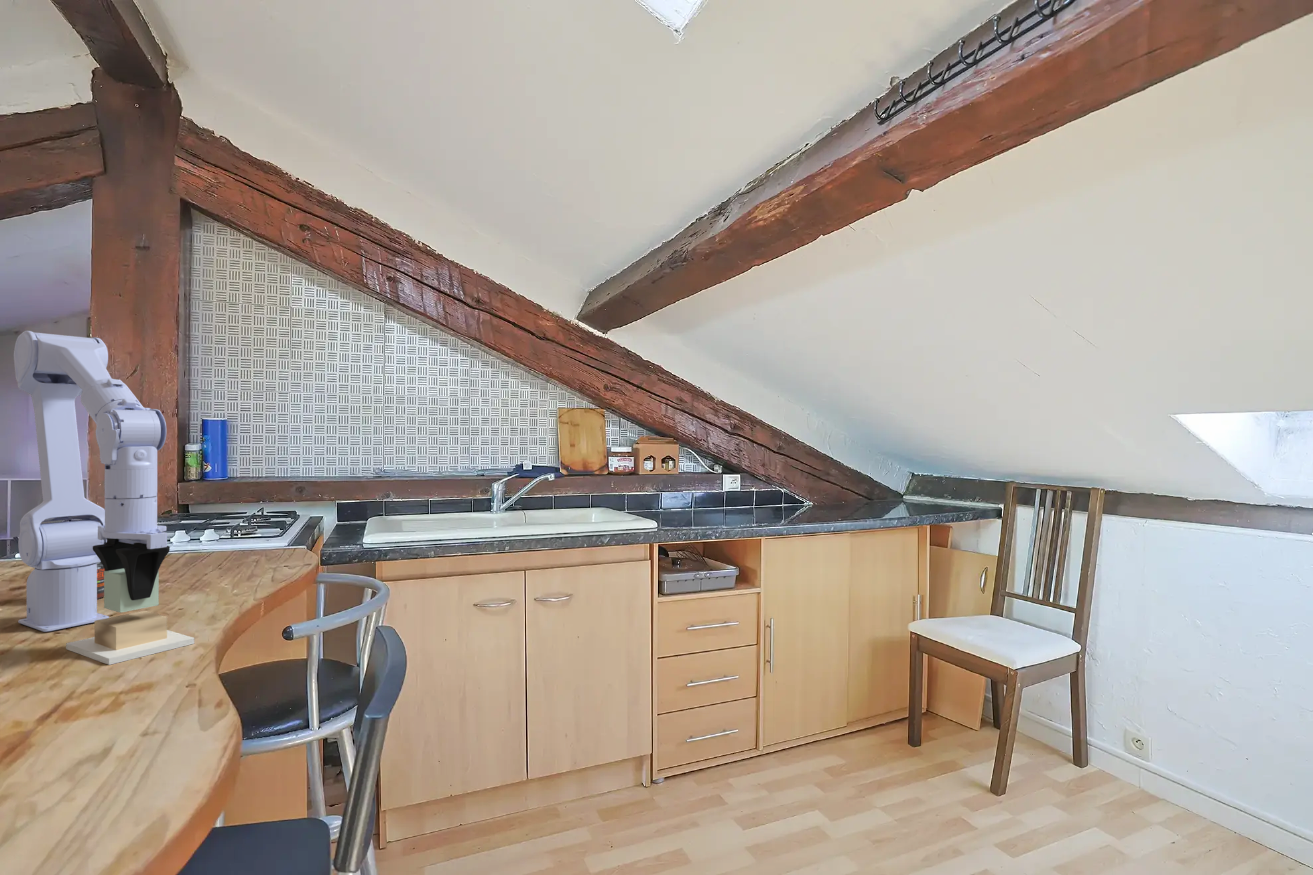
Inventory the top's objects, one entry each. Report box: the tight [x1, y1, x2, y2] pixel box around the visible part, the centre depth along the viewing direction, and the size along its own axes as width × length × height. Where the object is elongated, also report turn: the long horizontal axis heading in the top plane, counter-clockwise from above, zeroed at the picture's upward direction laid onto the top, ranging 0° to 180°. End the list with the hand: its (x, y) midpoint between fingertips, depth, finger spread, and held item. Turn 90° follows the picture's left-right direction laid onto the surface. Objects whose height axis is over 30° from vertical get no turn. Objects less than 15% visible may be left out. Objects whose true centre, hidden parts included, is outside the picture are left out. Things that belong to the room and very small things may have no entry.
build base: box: [65, 610, 195, 666], centre depth 93 cm, size 12×10×4 cm
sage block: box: [103, 569, 160, 613], centre depth 93 cm, size 4×4×5 cm
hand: (131, 596), depth 93 cm, fingers closed on sage block, 4 cm apart
